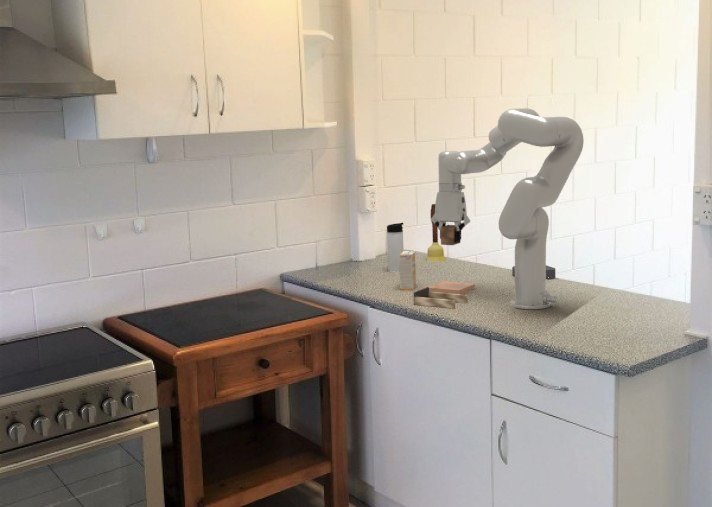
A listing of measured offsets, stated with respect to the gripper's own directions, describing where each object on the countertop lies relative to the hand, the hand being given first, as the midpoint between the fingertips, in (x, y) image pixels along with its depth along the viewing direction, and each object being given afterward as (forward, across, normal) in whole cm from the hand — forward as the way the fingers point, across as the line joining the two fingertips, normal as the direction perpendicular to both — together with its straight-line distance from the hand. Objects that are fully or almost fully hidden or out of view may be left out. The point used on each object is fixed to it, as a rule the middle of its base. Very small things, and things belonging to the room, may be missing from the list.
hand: (450, 241), depth 273 cm
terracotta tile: (+18, 0, -1) cm, 18 cm away
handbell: (+19, +31, -48) cm, 60 cm away
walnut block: (+1, 0, 0) cm, 1 cm away
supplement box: (+18, +16, +1) cm, 25 cm away
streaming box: (+18, -18, -31) cm, 40 cm away
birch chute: (+18, -5, +17) cm, 25 cm away
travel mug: (+19, +35, -23) cm, 46 cm away
